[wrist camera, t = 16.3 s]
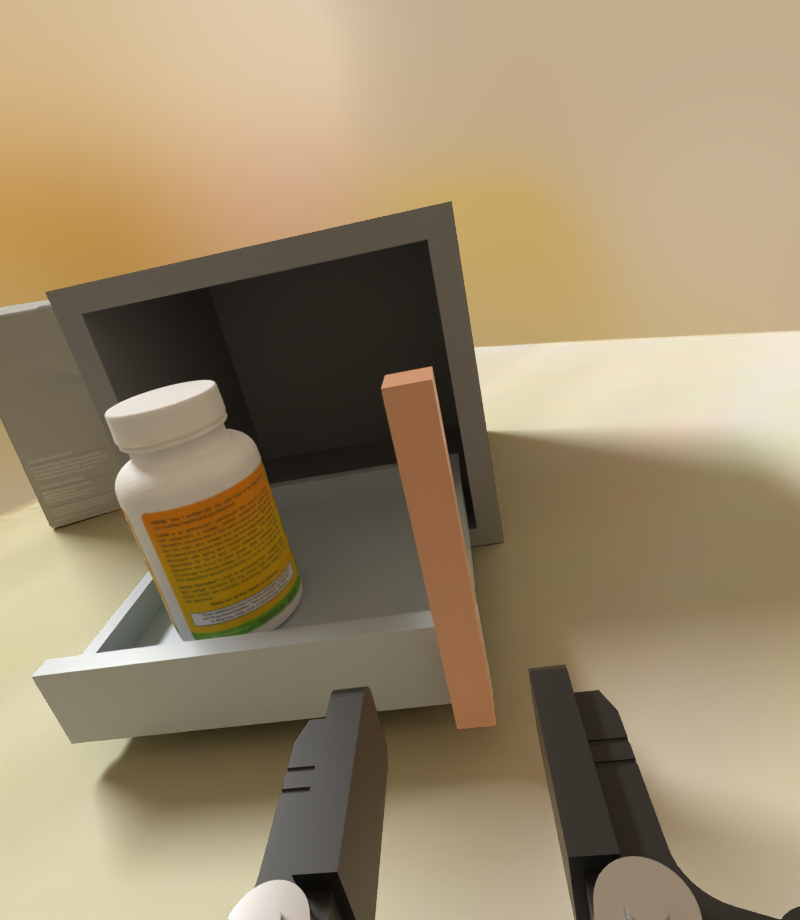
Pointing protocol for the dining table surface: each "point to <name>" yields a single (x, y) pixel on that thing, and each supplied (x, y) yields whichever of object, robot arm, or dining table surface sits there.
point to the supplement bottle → (203, 513)
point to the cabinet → (300, 344)
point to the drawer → (313, 608)
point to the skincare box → (53, 418)
